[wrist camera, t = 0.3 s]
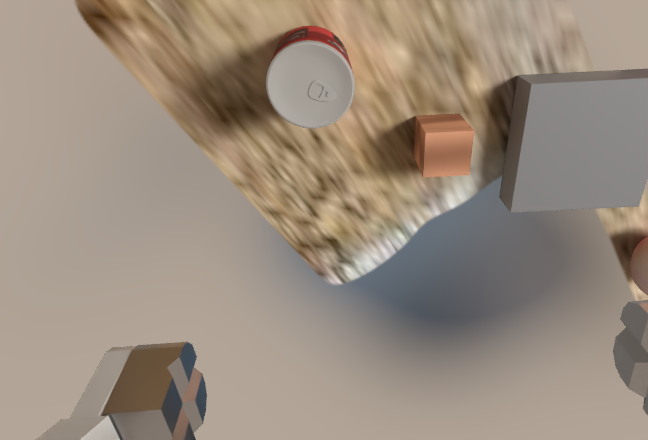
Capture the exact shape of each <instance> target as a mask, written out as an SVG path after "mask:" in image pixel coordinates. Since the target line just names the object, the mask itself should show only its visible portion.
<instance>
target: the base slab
mask: <svg viewBox="0 0 648 440" xmlns="http://www.w3.org/2000/svg"><path fill="white" fill-rule="evenodd" d="M647 178H648V69H633V70H614V71H594V72H575V73H555V74H536V75H517V82H516V88H515V95H514V102H513V109H512V115H511V122H510V129H509V136H508V143H507V149H506V156H505V163H504V170H503V177H502V183H501V190H500V199H501V200H502V201H503V203H504V204H505V205H506V207H507V208H508V210H509V211H510V212H530V211H531V212H532V211H551V210H552V211H553V210H574V209H595V208H616V207H638V206H639V204H640V201H641V198H642V194H643V191H644V188H645V185H646V181H647Z"/></svg>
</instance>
